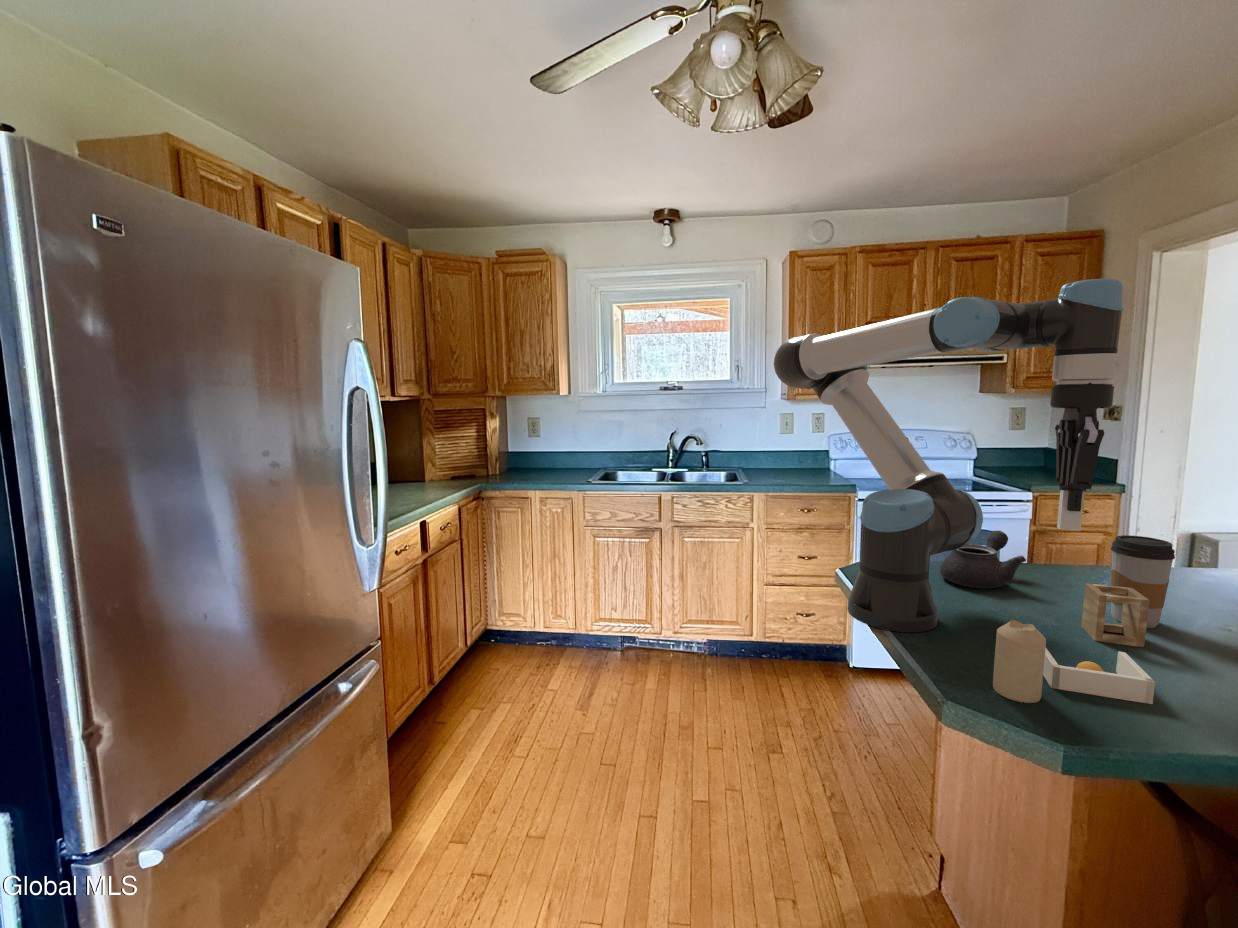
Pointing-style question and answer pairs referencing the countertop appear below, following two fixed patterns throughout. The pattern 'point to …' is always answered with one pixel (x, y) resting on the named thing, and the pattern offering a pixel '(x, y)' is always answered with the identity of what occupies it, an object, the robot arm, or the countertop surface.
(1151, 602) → the coffee cup
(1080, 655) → the countertop surface
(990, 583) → the teapot
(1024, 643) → the candle
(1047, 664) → the white u-shaped corral
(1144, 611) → the wooden cage
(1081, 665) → the ball
